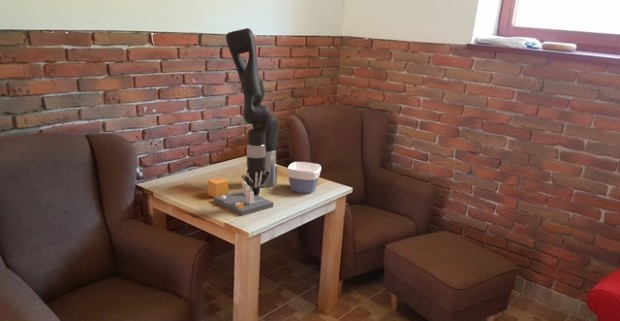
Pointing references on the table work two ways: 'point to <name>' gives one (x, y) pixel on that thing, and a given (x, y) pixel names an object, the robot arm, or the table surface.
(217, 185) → the orange block
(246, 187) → the untagged breaker
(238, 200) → the breaker panel
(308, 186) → the bowl
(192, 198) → the table surface
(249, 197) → the block
